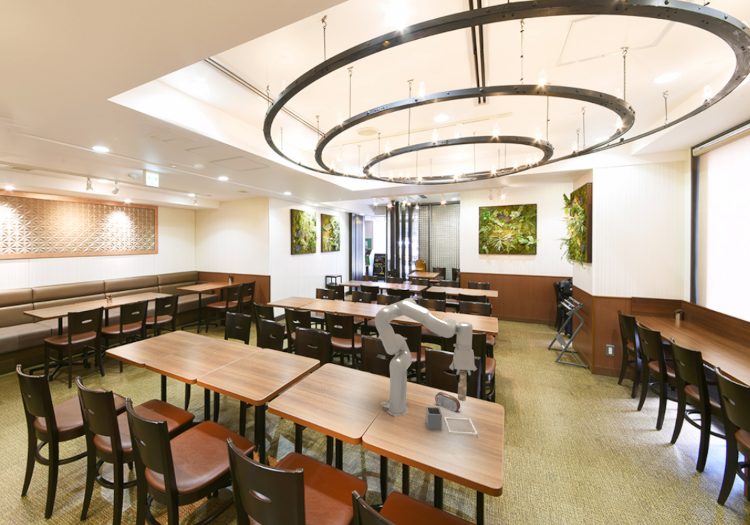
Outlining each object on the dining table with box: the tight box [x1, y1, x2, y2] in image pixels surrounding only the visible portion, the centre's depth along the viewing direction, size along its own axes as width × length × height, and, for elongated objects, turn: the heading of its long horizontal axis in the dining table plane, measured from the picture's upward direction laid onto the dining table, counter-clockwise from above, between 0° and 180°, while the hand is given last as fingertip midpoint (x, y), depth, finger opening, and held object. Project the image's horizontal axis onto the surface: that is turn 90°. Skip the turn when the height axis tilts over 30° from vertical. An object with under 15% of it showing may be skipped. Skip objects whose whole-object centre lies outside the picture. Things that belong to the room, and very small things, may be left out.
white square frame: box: [443, 416, 479, 438], centre depth 148 cm, size 14×13×2 cm
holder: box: [425, 406, 443, 432], centre depth 148 cm, size 7×7×9 cm
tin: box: [434, 391, 461, 413], centre depth 166 cm, size 15×3×8 cm, turn 49°
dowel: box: [457, 370, 468, 402], centre depth 147 cm, size 4×4×14 cm
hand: (462, 381), depth 147 cm, fingers closed on dowel, 4 cm apart
